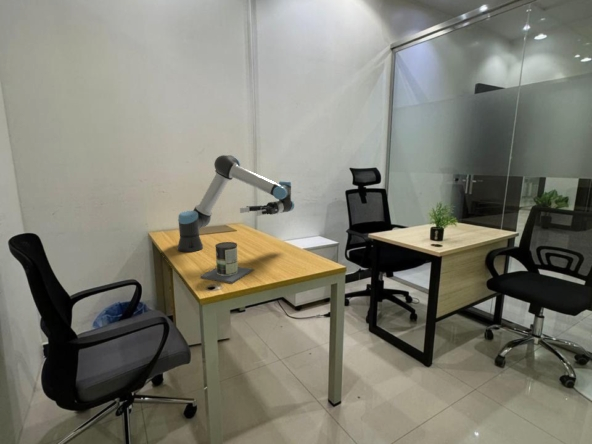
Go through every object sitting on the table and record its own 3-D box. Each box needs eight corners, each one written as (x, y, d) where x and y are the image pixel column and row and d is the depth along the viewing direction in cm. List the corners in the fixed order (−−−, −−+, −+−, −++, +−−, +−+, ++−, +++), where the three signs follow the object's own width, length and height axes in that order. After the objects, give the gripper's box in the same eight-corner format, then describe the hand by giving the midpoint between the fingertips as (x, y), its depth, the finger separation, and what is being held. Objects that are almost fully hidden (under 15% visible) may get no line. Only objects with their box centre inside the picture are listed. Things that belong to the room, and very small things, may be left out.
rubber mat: (200, 277, 149) (200, 275, 148) (223, 266, 165) (222, 264, 165) (232, 283, 142) (232, 281, 142) (252, 270, 158) (252, 269, 158)
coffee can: (215, 276, 148) (213, 247, 145) (218, 269, 158) (217, 242, 155) (237, 275, 148) (236, 247, 146) (239, 268, 159) (238, 241, 156)
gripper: (290, 216, 183) (264, 221, 167) (260, 211, 198) (234, 215, 182) (290, 203, 181) (264, 207, 165) (259, 199, 197) (233, 203, 180)
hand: (248, 211), depth 174 cm, fingers open, 13 cm apart
